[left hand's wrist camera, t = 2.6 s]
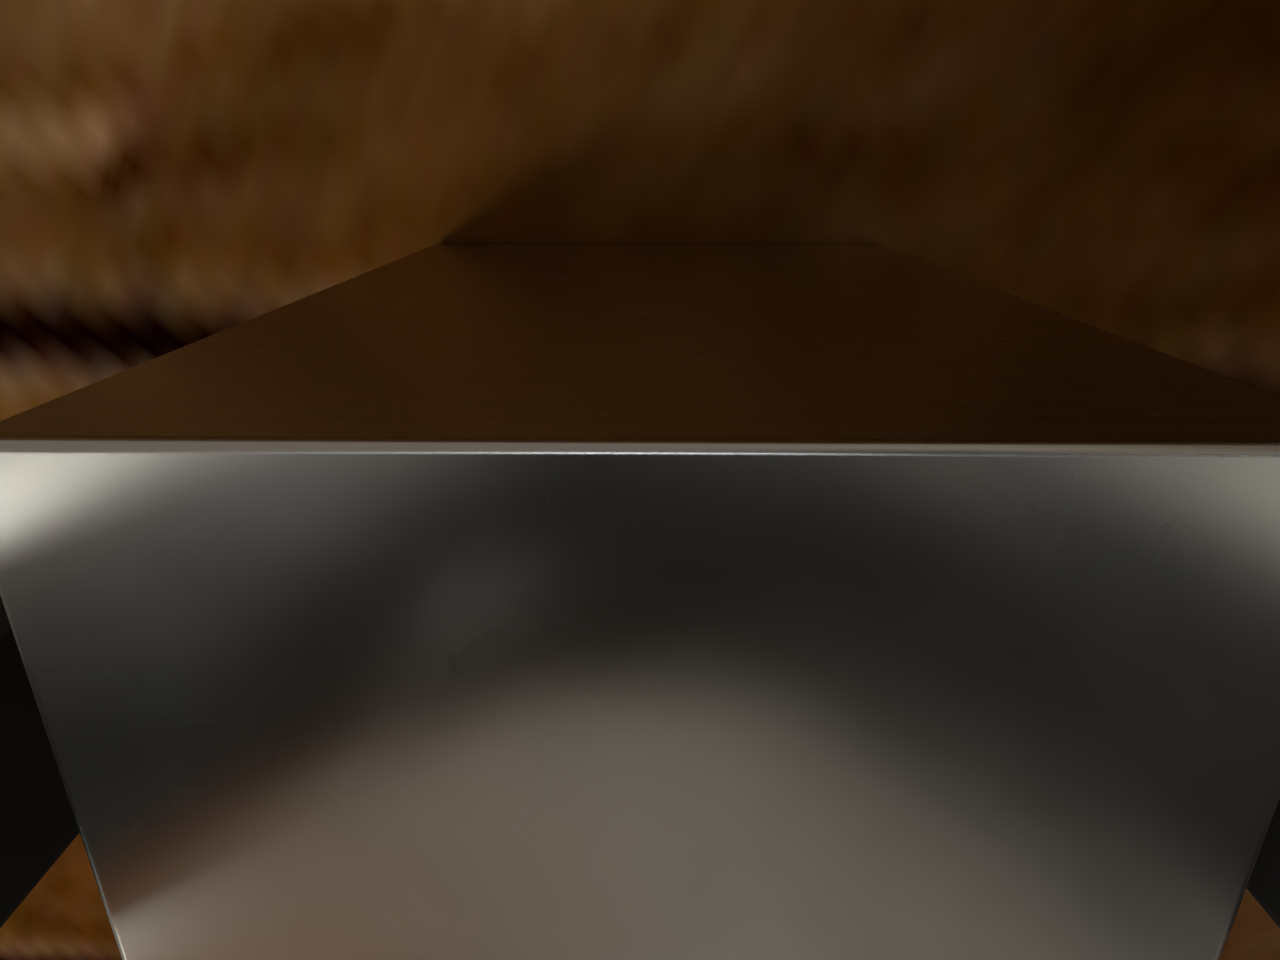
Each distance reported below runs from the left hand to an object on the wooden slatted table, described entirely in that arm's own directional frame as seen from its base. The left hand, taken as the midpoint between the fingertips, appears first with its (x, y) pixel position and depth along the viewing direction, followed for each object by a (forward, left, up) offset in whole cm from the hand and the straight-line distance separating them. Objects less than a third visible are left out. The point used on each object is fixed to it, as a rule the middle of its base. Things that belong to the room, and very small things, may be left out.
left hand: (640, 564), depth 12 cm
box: (0, +10, -4) cm, 10 cm away
